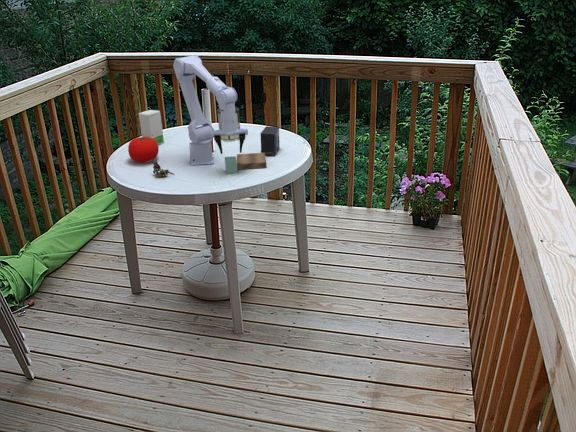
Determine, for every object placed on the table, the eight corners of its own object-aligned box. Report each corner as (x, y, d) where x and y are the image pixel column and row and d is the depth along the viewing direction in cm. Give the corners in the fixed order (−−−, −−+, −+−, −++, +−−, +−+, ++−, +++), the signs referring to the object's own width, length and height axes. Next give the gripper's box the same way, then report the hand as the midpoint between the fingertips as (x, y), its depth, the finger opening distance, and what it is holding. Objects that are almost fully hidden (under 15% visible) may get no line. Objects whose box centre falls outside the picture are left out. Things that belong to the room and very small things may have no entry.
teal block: (226, 174, 230) (225, 160, 228) (225, 170, 234) (224, 157, 232) (237, 173, 231) (236, 159, 228) (236, 169, 235) (235, 156, 232)
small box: (275, 156, 248) (274, 133, 243) (260, 156, 249) (259, 133, 244) (280, 148, 257) (279, 126, 252) (266, 148, 258) (265, 125, 254)
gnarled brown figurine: (172, 180, 225) (147, 169, 224) (169, 192, 229) (143, 182, 228) (182, 165, 235) (158, 155, 234) (179, 178, 238) (154, 168, 238)
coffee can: (228, 133, 280) (226, 105, 273) (245, 136, 275) (243, 107, 268) (215, 139, 272) (212, 110, 266) (232, 142, 267) (230, 113, 261)
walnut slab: (237, 169, 235) (237, 164, 234) (237, 159, 246) (236, 154, 244) (266, 168, 236) (266, 162, 235) (264, 158, 246) (264, 152, 245)
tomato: (129, 156, 253) (126, 134, 249) (159, 153, 256) (156, 131, 251) (130, 167, 241) (126, 144, 236) (160, 164, 243) (157, 141, 239)
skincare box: (152, 148, 263) (147, 115, 256) (142, 145, 266) (137, 113, 260) (164, 142, 270) (160, 110, 263) (154, 140, 273) (150, 108, 266)
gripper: (209, 123, 219) (212, 157, 225) (247, 121, 220) (249, 154, 226) (210, 118, 226) (213, 151, 231) (246, 116, 227) (248, 149, 232)
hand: (231, 152), depth 229 cm, fingers open, 7 cm apart
